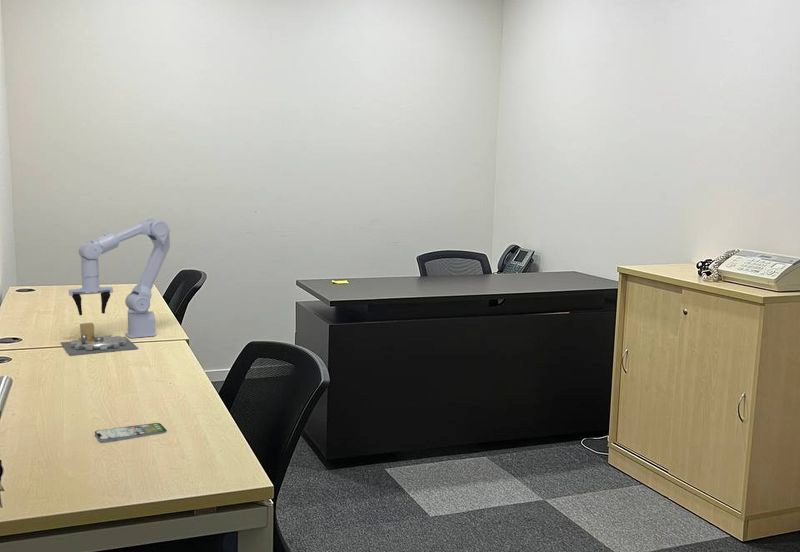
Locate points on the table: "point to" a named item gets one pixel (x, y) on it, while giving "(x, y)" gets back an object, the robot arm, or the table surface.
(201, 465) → the table surface
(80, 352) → the plate
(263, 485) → the table surface
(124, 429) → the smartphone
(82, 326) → the brushed gold block
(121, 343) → the sprocket
